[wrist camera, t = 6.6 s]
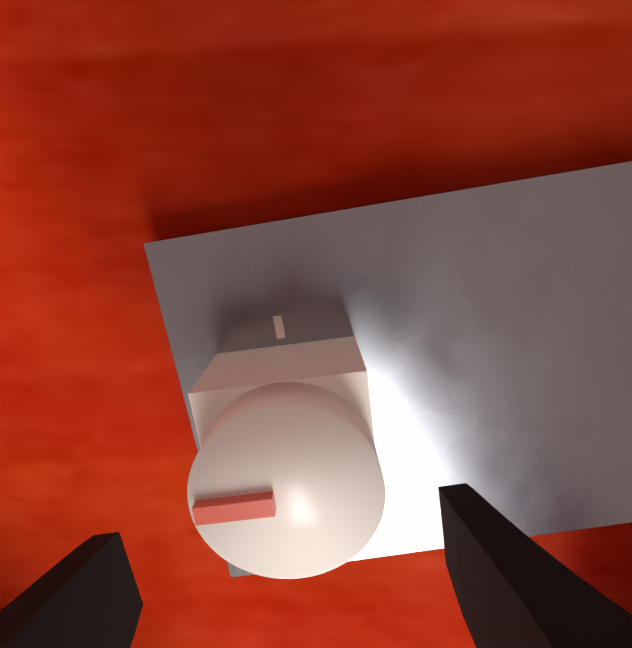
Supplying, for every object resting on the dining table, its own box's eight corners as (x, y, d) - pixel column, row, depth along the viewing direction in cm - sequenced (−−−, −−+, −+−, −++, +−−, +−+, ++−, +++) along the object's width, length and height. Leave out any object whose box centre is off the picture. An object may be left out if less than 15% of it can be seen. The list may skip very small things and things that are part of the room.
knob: (354, 336, 14) (377, 400, 9) (368, 458, 16) (395, 577, 10) (217, 353, 15) (163, 427, 9) (241, 474, 16) (205, 598, 11)
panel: (642, 498, 18) (747, 586, 13) (236, 554, 18) (212, 656, 14) (656, 157, 14) (803, 130, 10) (156, 241, 15) (93, 250, 11)
